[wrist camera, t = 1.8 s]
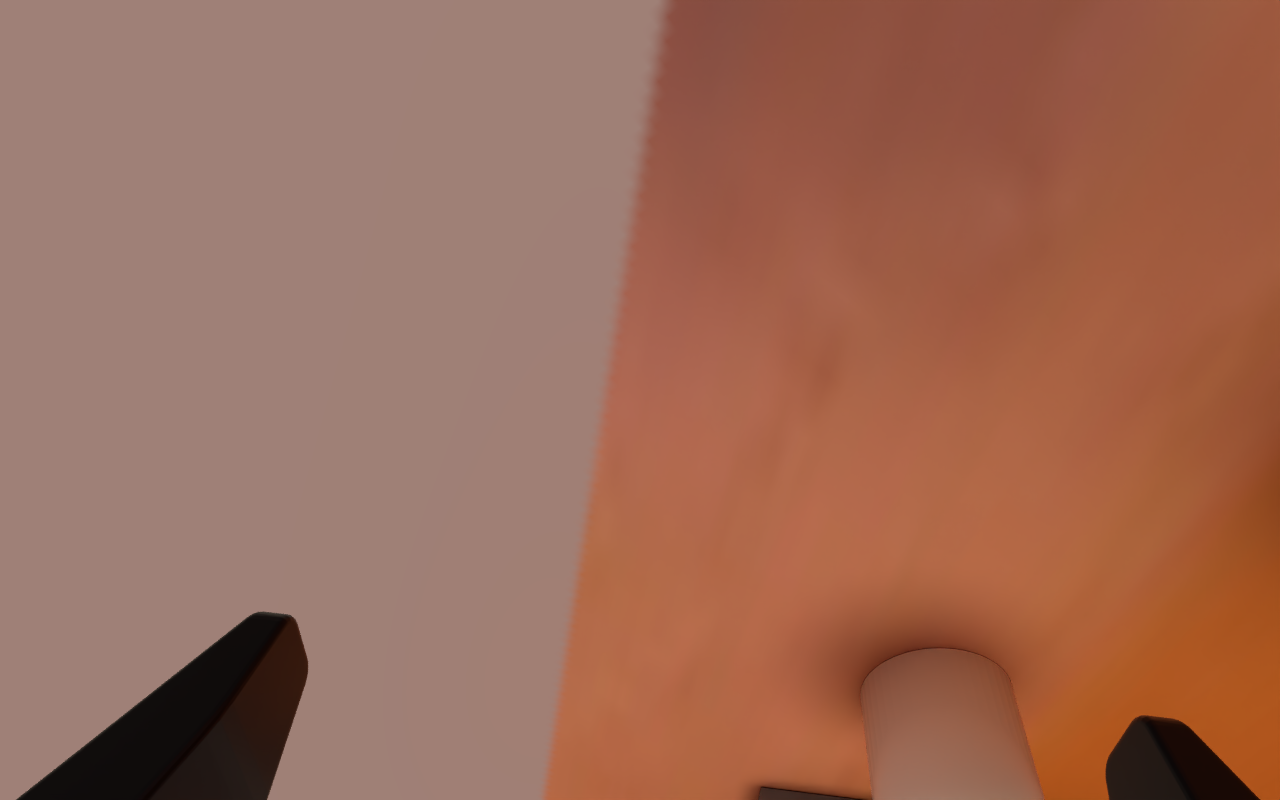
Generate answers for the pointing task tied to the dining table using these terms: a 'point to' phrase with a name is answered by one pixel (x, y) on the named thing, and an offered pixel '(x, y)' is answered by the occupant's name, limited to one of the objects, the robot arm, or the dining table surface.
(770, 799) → the tray
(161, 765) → the robot arm
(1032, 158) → the dining table surface
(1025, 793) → the shaker
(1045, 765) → the dining table surface
